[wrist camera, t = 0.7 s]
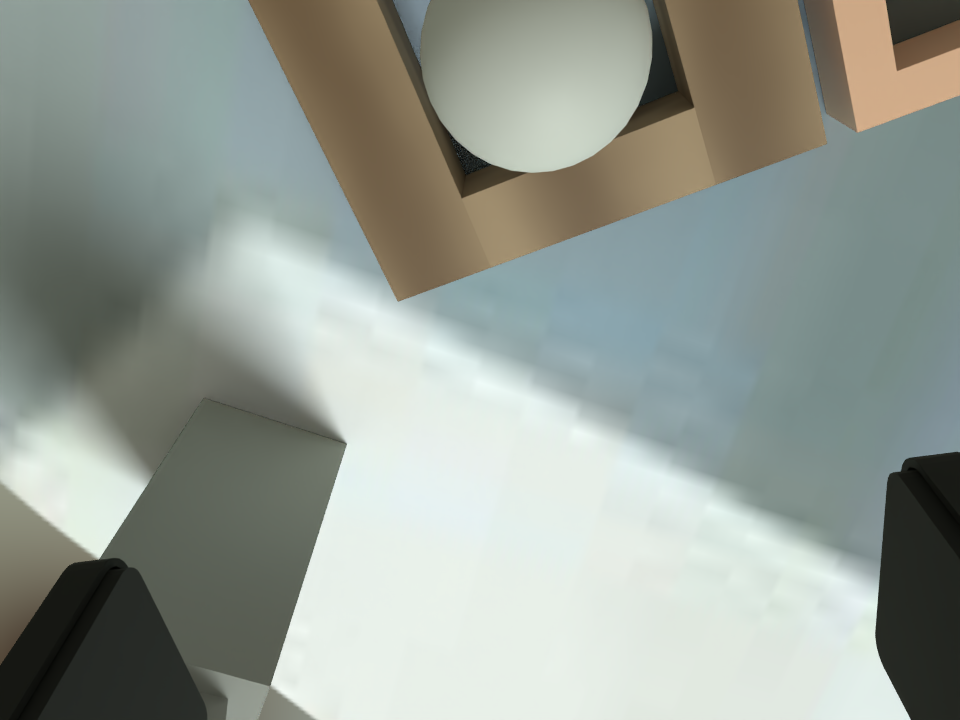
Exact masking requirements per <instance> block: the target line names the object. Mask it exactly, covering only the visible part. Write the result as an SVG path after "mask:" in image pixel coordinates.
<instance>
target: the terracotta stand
mask: <svg viewBox="0 0 960 720" xmlns="http://www.w3.org/2000/svg"><path fill="white" fill-rule="evenodd" d="M804 5H805V9H806V14H807V19H808V24H809V29H810V34H811V39H812V44H813V49H814V54H815V59H816V64H817V69H818V74H819V78H820V83H821V88H822V93H823V98H824V103H825V108H826V113H827V114H828V115H829V116H831V117H833V118H834V119H836V120H838V121H839V122H841V123H842V124H844V125H846V126H847V127H849V128H851V129H852V130H854V131H856V132H857V133H858V132H861V131H863V130H866V129H869V128H871V127H874V126H877V125H880V124H882V123H885V122H888V121H890V120H893V119H896V118H899V117H901V116H904V115H907V114H910V113H912V112H915V111H918V110H920V109H923V108H926V107H929V106H931V105H934V104H937V103H939V102H942V101H945V100H948V99H950V98H953V97H956V96H958V95H960V20H957V21H955V22H952V23H950V24H947V25H944V26H942V27H939V28H937V29H934V30H932V31H929V32H926V33H924V34H921V35H919V36H916V37H913V38H911V39H908V40H906V41H903V42H901V43H898V44H895V45H893V44H892V38H891V32H890V25H889V19H888V13H887V7H886V0H804Z"/></svg>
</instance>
